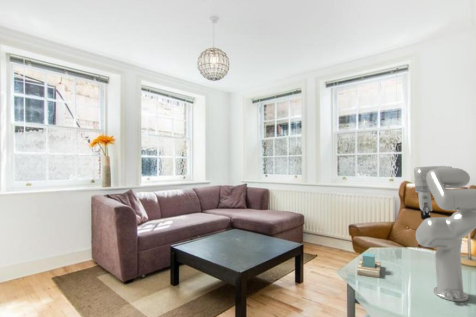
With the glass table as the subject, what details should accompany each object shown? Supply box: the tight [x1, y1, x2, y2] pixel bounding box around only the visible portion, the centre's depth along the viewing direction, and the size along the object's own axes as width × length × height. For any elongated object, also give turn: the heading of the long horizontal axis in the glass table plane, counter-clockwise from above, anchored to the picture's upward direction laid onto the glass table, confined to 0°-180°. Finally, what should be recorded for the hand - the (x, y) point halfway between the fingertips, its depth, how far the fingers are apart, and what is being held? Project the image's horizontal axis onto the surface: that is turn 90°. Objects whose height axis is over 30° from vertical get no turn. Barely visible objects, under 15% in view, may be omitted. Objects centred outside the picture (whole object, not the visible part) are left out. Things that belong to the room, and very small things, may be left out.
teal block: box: [362, 252, 376, 268], centre depth 154 cm, size 6×6×6 cm
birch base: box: [356, 258, 382, 279], centre depth 153 cm, size 18×11×3 cm, turn 149°
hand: (425, 220), depth 143 cm, fingers open, 9 cm apart
